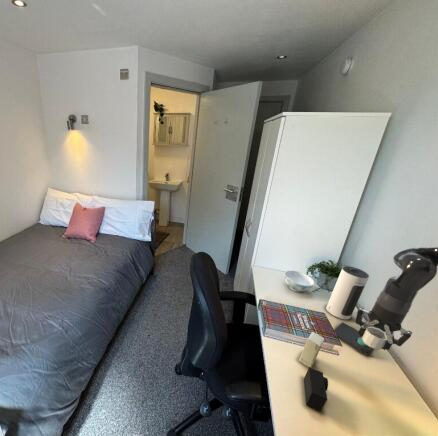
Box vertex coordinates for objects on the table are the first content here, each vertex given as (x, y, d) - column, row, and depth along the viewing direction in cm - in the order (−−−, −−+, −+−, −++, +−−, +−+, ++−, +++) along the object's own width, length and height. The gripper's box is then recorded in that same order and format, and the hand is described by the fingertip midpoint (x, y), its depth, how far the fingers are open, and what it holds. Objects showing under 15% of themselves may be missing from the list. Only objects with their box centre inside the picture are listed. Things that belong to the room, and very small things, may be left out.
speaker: (332, 317, 118) (350, 275, 108) (321, 303, 127) (337, 263, 118) (355, 321, 116) (376, 278, 107) (342, 306, 126) (360, 266, 116)
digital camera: (325, 414, 76) (332, 401, 74) (305, 405, 79) (312, 392, 76) (320, 386, 85) (327, 373, 82) (303, 379, 87) (309, 366, 85)
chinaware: (276, 281, 145) (279, 271, 142) (296, 279, 147) (300, 269, 145) (294, 297, 131) (298, 286, 128) (316, 295, 134) (320, 284, 131)
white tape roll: (384, 345, 83) (390, 335, 81) (379, 353, 80) (385, 342, 78) (364, 334, 88) (369, 324, 86) (358, 341, 85) (364, 331, 83)
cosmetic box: (310, 369, 91) (320, 346, 87) (298, 360, 94) (307, 338, 90) (315, 359, 95) (325, 338, 91) (303, 352, 98) (312, 330, 94)
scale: (376, 344, 104) (379, 339, 103) (366, 357, 97) (369, 352, 96) (341, 324, 114) (343, 319, 113) (330, 334, 107) (332, 330, 106)
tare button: (368, 344, 100) (370, 342, 99) (366, 348, 98) (367, 346, 98) (358, 338, 103) (359, 336, 102) (355, 342, 101) (356, 339, 100)
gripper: (425, 314, 74) (402, 352, 80) (368, 289, 85) (351, 324, 91) (420, 324, 70) (397, 362, 76) (361, 296, 81) (344, 332, 87)
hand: (372, 341), depth 84 cm, fingers closed on white tape roll, 6 cm apart
